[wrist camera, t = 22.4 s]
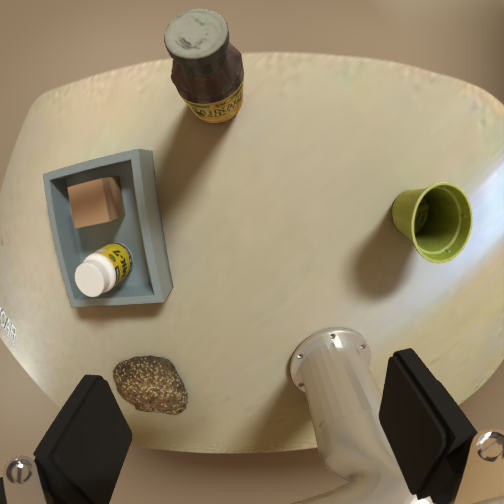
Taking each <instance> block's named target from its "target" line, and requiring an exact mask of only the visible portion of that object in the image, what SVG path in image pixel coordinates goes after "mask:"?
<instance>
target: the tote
mask: <svg viewBox="0 0 504 504" xmlns="http://www.w3.org/2000/svg"><path fill="white" fill-rule="evenodd" d="M117 176H119V177H120V184H121V190H122V196H123V202H124V208H125V213H126V215H124V216H121V217H119V218H117V219H114V220H112V221H110V222H105V223H100V224H95V225H90V226H85V227H80V228H75V226H74V222H73V216H72V211H71V206H70V200H69V194H68V187H71V186H74V185H78V184H82V183H85V182H89V181H93V180H97V179H101V178H108V177H117ZM43 179H44V187H45V194H46V201H47V207H48V213H49V219H50V224H51V230H52V235H53V239H54V244H55V249H56V253H57V257H58V261H59V265H60V269H61V273H62V277H63V281H64V284H65V288H66V291H67V295H68V298H69V301H70V304H71V307H86V306H108V305H127V304H144V303H159V302H164V301H165V300H166V298H167V296H168V295H169V293H170V291H171V290H172V288H173V282H172V277H171V272H170V267H169V262H168V256H167V251H166V245H165V239H164V233H163V227H162V221H161V214H160V208H159V201H158V194H157V187H156V179H155V171H154V163H153V154H152V151H150V150H143V149H135V150H131V151H126V152H122V153H117V154H113V155H109V156H105V157H101V158H97V159H93V160H89V161H86V162H82V163H78V164H75V165H71V166H68V167H64V168H61V169H58V170H55V171H51V172H48V173H45V174H43ZM113 242H119V243H122V244H124V245H125V246H127V247H128V249H129V250H130V251H131V253H132V256H133V267H132V270H131V271H130V272H129V274H128V275H126V276H125V277H124V278H123V279H122V280H121V281H120V282H119V283H117V284H116V285H115V286H114V287H113V288H112V289H111V290H109V291H107V292H104V293H101V294H100V295H98V296H96V297H90V296H87V295H85V294H84V293H82V292H81V291H80V289H79V288H78V286H77V284H76V281H75V272H76V269H77V267H78V266H79V265H81V264H82V263H83V261H84V260H85V258H86V257H88V256H89V255H90V254H92V253H94V252H96V251H97V250H99V249H101V248H103V247H104V246H106V245H108V244H110V243H113Z"/></svg>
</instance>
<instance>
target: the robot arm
mask: <svg viewBox="0 0 504 504" xmlns="http://www.w3.org/2000/svg"><path fill="white" fill-rule="evenodd" d="M370 360H371V352H370V348H369V346H368V344H367V342H366V341H365V339H364V338H363V337H362V336H361V335H360V334H358V333H357V332H355V331H353V330H349V329H345V328H333V329H327V330H323V331H320V332H318V333H316V334H314V335H312V336H310V337H309V338H307V339H306V340H305V341H304V342H303V343H301V344H300V346H299V347H298V348H297V349H296V351H295V352H294V354H293V356H292V359H291V362H290V372H291V377H292V380H293V382H294V384H295V385H296V386H297V387H298V388H299V389H300V390H301V391H303V392H305V393H306V396H307V401H308V405H309V410H310V414H311V418H312V423H313V427H314V432H315V436H316V441H317V446H318V450H319V454H320V458H321V460H322V462H323V464H324V465H325V466H326V468H327V469H328V470H329V471H331V472H332V473H333V474H335V475H336V476H338V477H340V478H342V479H344V480H346V481H348V482H349V483H347V484H345V485H342V486H340V487H338V488H335V489H334V490H331V491H328V492H325V493H323V494H320V495H317V496H314V497H311V498H308V499H305V500H301V501H298V502H295V503H292V504H504V431H503V430H501V429H497V428H488V429H484V430H482V431H480V432H479V433H477V431H476V430H475V429H474V427H473V426H472V424H471V423H470V421H469V420H468V419H467V417H466V416H465V414H464V413H463V412H462V410H461V409H460V408H459V406H458V405H457V403H456V402H455V401H454V399H453V398H452V397H451V395H450V394H449V393H448V391H447V390H446V389H445V387H444V386H443V385H442V384H441V383H440V382H439V381H438V380H436V378H435V377H434V376H433V374H432V373H431V372H430V371H429V369H428V368H427V367H426V365H425V364H424V363H423V362H422V360H421V359H420V358H419V357H418V355H417V354H416V353H415V351H414V350H413V349H412V348H408V349H404V350H400V351H396V352H394V354H393V357H390V358H389V360H388V366H387V373H386V378H385V384H384V390H383V393H382V391H381V389H380V388H379V386H378V384H377V382H376V380H375V378H374V376H373V374H372V373H371V371H370V369H369V365H370ZM131 441H132V432H131V430H130V428H129V426H128V424H127V422H126V420H125V418H124V416H123V414H122V412H121V410H120V408H119V406H118V404H117V402H116V399H115V397H114V395H113V393H112V391H111V388H110V386H109V384H108V382H107V381H106V380H104V379H103V377H102V376H99V375H85V376H84V377H83V378H82V380H81V381H80V382H79V384H78V385H77V387H76V388H75V390H74V391H73V393H72V394H71V396H70V397H69V399H68V400H67V402H66V403H65V405H64V406H63V408H62V409H61V411H60V412H59V414H58V415H57V417H56V418H55V420H54V421H53V423H52V424H51V426H50V428H49V429H48V431H47V432H46V434H45V436H44V437H43V439H42V440H41V442H40V443H39V445H38V447H37V448H36V450H35V452H34V456H35V457H36V458H35V460H34V461H33V460H32V458H30V457H28V456H23V455H21V456H16V457H14V458H12V459H11V460H9V461H8V462H7V463H6V465H5V466H4V469H3V477H1V478H0V504H109V502H110V499H111V496H112V493H113V490H114V488H115V484H116V482H117V479H118V477H119V474H120V471H121V468H122V465H123V463H124V460H125V457H126V454H127V452H128V449H129V446H130V444H131Z"/></svg>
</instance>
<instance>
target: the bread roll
mask: <svg viewBox="0 0 504 504" xmlns="http://www.w3.org/2000/svg"><path fill="white" fill-rule="evenodd" d="M113 379H114V381H115V383H116V386H117V391H118V393H119V394H120V395H121V396H122V397H123V398H124V399H125V400H127V401H129V402H130V403H131V404H134V405H135V407H136V409H137V410H141V411H146V412H152V411H155V412H162V413H167V414H171V415H177V414H179V413H181V412H183V411H184V410H185V409H186V405H187V398H188V397H187V392H186V389H185V387H184V384H183V382H182V380H181V378H180V377H179V375H178V373H177V371H176V369H175V367H174V365H173V364H172V363H171V361H169V360H168V359H165V358H163V357H154V356H148V357H146V356H143V357H134V358H132V359H129V360H126V361H123V362H120V363H119V364H118V365H117V366H116V367H115V369H114V370H113Z"/></svg>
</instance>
